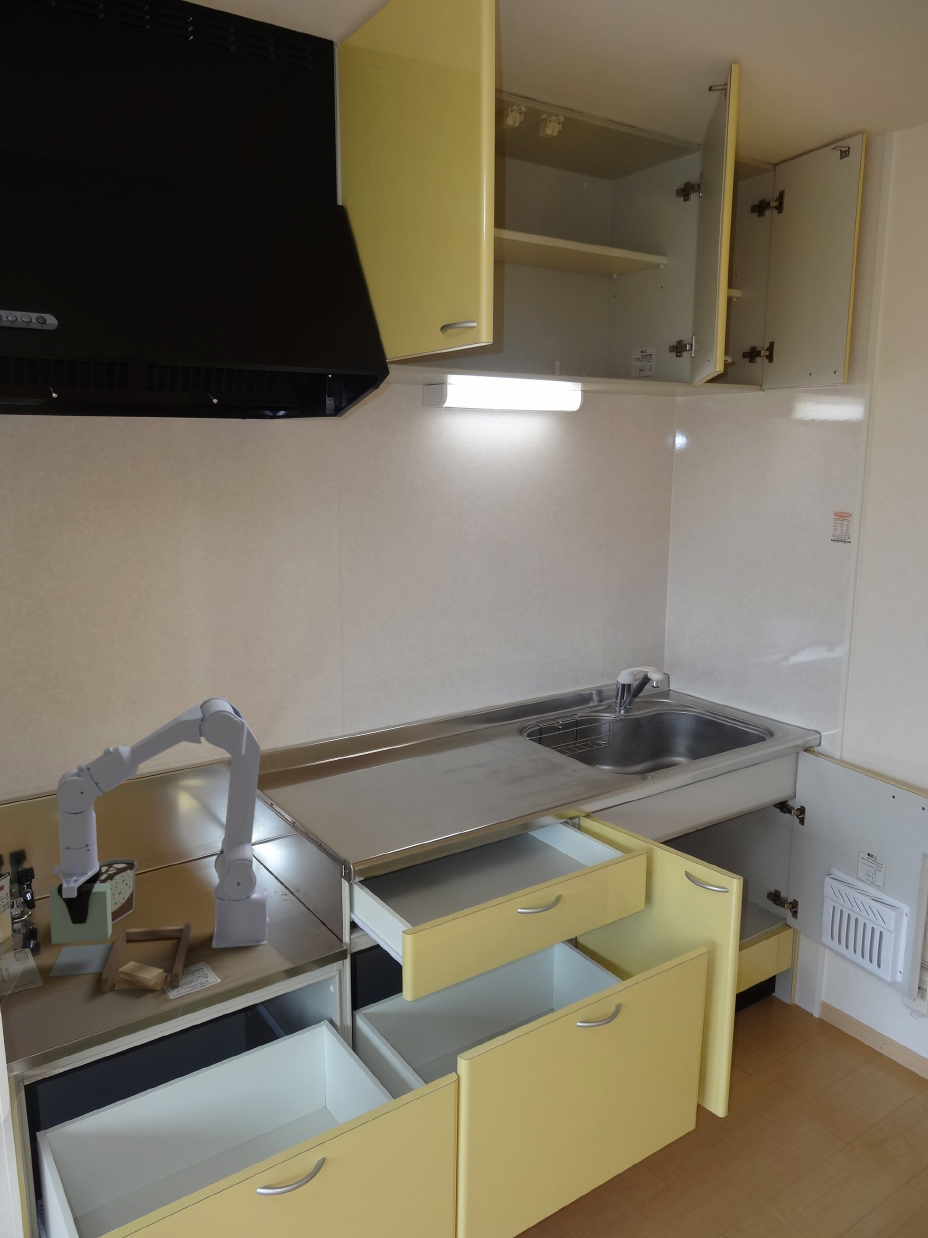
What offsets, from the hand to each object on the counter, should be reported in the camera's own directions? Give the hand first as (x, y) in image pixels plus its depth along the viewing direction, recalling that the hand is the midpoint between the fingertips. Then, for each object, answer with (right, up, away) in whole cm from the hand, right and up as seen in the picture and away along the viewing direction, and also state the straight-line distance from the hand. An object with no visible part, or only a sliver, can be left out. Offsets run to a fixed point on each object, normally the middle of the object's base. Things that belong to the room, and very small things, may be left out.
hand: (81, 917), depth 152 cm
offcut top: (+12, -8, -5) cm, 15 cm away
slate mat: (0, -8, +1) cm, 8 cm away
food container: (-3, -6, +16) cm, 17 cm away
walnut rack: (+11, -8, +1) cm, 14 cm away
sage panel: (0, -4, +1) cm, 4 cm away
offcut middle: (+12, -9, -5) cm, 16 cm away
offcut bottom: (+12, -10, -5) cm, 17 cm away
